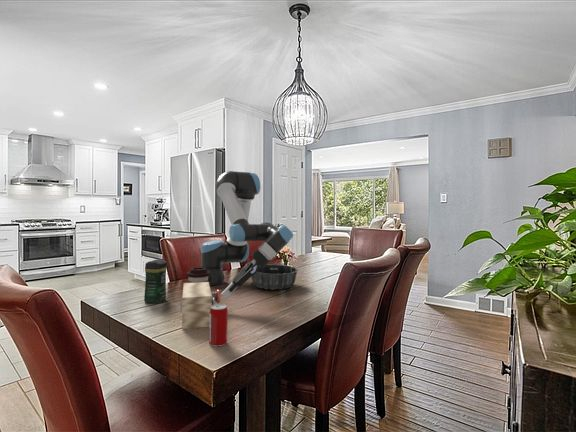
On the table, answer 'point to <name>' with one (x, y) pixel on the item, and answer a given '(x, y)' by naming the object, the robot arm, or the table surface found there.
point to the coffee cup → (198, 275)
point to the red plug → (216, 296)
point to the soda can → (218, 325)
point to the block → (196, 305)
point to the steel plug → (212, 303)
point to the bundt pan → (274, 277)
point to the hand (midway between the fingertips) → (223, 296)
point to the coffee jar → (155, 281)
